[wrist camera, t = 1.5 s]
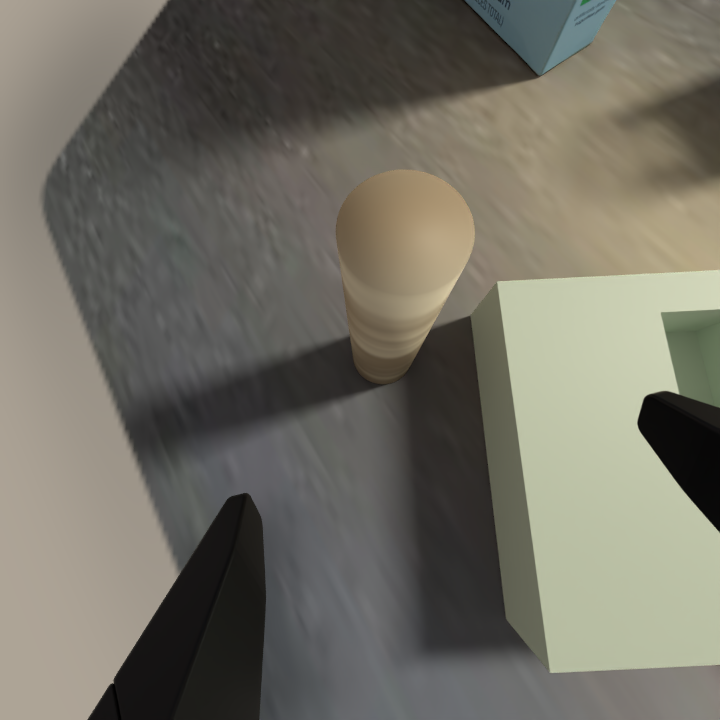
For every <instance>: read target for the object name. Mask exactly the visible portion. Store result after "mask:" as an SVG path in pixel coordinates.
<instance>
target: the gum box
mask: <svg viewBox="0 0 720 720" xmlns="http://www.w3.org/2000/svg"><path fill="white" fill-rule="evenodd" d="M464 1H465V2H466V3H468V4H469V5H470V6H471V7H472V8H473V9H474V10H475V11H476V12H477V13H478V14H479V15H480V16H481V17H482V18H483V19H484V21H485V22H486V23H487V24H488V25H489V26H490V27H491V28H492V29H493V30H494V31H495V32H496V33H497V34H498V35H499V36H500V37H501V38H502V39H503V40H504V41H505V42H506V43H507V44H508V45H509V46H511V47H512V48H513V49H514V50H515V51H516V52H517V53H518V54H519V55H520V56H521V57H522V59H523V60H524V61H525V62H526V63H527V64H528V65H529V67H530V68H531V69H532V70H533V71H534V72H535V73H536V74H537V75H538V76H541V75H542V74H544V73H545V72H547V71H548V70H550V69H551V68H553V67H555V66H556V65H558V64H560V63H561V62H563V61H565V60H566V59H568V58H570V57H571V56H573V55H574V54H576V53H577V52H579V51H581V50H582V49H584V48H585V47H587V46H588V45H590V44H591V43H592V41H593V39H594V37H595V35H596V34H597V32H598V30H599V29H600V27H601V25H602V23H603V22H604V20H605V18H606V16H607V15H608V13H609V11H610V10H611V8H612V6H613V5H614V3H615V1H616V0H464Z"/></svg>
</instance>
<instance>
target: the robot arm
mask: <svg viewBox="0 0 720 720" xmlns="http://www.w3.org/2000/svg"><path fill="white" fill-rule="evenodd" d="M637 425H638V429H639V431H640V433H641V434H642V435H643V437H644V438H645V440H646V441H647V442H648V444H649V445H650V446H651V448H652V449H653V451H654V452H655V453H656V455H657V456H658V457H659V459H660V460H661V462H662V463H663V464H664V466H665V467H666V468H667V470H668V471H669V473H670V474H671V475H672V477H673V478H674V480H675V481H676V482H677V483H678V485H679V486H680V487H681V489H682V490H683V491H684V492H685V494H686V495H687V496H688V497H689V498H690V500H691V501H692V502H693V503H694V504H695V505H696V506H697V508H698V509H699V510H700V511H701V512H702V513H703V514H704V516H705V517H706V518H707V519H708V520H709V521H710V522H711V524H712V525H713V526H714V527H715V528H716V529H717V530H718V532H719V533H720V408H719V407H716V406H713V405H710V404H707V403H704V402H701V401H698V400H695V399H691V398H688V397H685V396H682V395H679V394H676V393H673V392H670V391H659V392H655V393H651V394H648V395H646V396H645V397H644V399H643V402H642V406H641V409H640V413H639V416H638V420H637ZM265 611H266V584H265V564H264V544H263V525H262V519H261V516H260V514H259V512H258V510H257V508H256V506H255V504H254V502H253V500H252V498H251V496H250V495H249V494H248V493H243V494H239V495H235V496H231V497H229V498H228V499H227V500H226V502H225V504H224V505H223V507H222V508H221V510H220V511H219V513H218V515H217V516H216V518H215V519H214V521H213V522H212V524H211V526H210V527H209V529H208V530H207V532H206V534H205V535H204V537H203V538H202V540H201V541H200V543H199V545H198V546H197V548H196V549H195V551H194V553H193V554H192V556H191V557H190V559H189V560H188V562H187V564H186V565H185V567H184V568H183V570H182V572H181V573H180V575H179V576H178V578H177V579H176V581H175V583H174V584H173V586H172V588H171V589H170V591H169V592H168V594H167V595H166V597H165V599H164V600H163V602H162V603H161V605H160V606H159V608H158V610H157V611H156V613H155V614H154V616H153V617H152V619H151V621H150V622H149V624H148V625H147V627H146V629H145V630H144V632H143V633H142V635H141V636H140V638H139V640H138V641H137V643H136V644H135V646H134V647H133V649H132V651H131V653H130V654H129V655H128V657H127V659H126V660H125V662H124V663H123V665H122V666H121V668H120V670H119V671H118V673H117V674H116V676H115V678H114V684H113V683H112V684H110V685H109V687H108V688H107V690H106V691H105V693H104V695H103V696H102V698H101V699H100V701H99V703H98V704H97V706H96V707H95V709H94V710H93V712H92V714H91V715H90V717H89V718H88V720H259V714H260V697H261V680H262V662H263V645H264V628H265Z"/></svg>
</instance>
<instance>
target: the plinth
mask: <svg viewBox="0 0 720 720" xmlns="http://www.w3.org/2000/svg"><path fill="white" fill-rule="evenodd" d="M471 324H472V332H473V341H474V349H475V358H476V367H477V375H478V384H479V392H480V401H481V409H482V418H483V426H484V435H485V444H486V452H487V461H488V469H489V478H490V486H491V495H492V503H493V512H494V520H495V529H496V538H497V546H498V555H499V563H500V572H501V580H502V589H503V597H504V606H505V615H506V620H507V621H508V622H509V623H510V625H511V626H512V627H513V628H514V629H515V631H516V632H517V633H518V634H519V636H520V637H521V638H522V639H523V640H524V642H525V643H526V644H527V645H528V647H529V648H530V649H531V650H532V651H533V653H534V654H535V655H536V656H537V658H538V659H539V660H540V661H541V662H542V664H543V665H544V666H545V667H546V668H547V670H548V671H549V672H550V673H561V672H581V671H602V670H623V669H643V668H664V667H685V666H705V665H720V533H719V532H718V530H717V529H716V528H715V527H714V526H713V525H712V524H711V522H710V521H709V520H708V519H707V518H706V517H705V516H704V514H703V513H702V512H701V511H700V510H699V509H698V508H697V506H696V505H695V504H694V503H693V502H692V501H691V500H690V498H689V497H688V496H687V495H686V494H685V492H684V491H683V490H682V489H681V487H680V486H679V485H678V483H677V482H676V481H675V480H674V478H673V477H672V475H671V474H670V473H669V471H668V470H667V468H666V467H665V466H664V464H663V463H662V462H661V460H660V459H659V457H658V456H657V455H656V453H655V452H654V451H653V449H652V448H651V446H650V445H649V444H648V442H647V441H646V440H645V438H644V437H643V435H642V434H641V433H640V431H639V429H638V425H637V420H638V416H639V413H640V409H641V406H642V402H643V399H644V397H645V396H646V395H648V394H651V393H655V392H659V391H670V392H673V393H676V394H679V395H682V396H685V397H688V398H691V399H695V400H698V401H701V402H704V403H707V404H710V405H713V406H716V407H719V408H720V270H712V271H693V272H673V273H654V274H634V275H615V276H595V277H576V278H556V279H537V280H517V281H498V282H496V284H495V285H494V286H493V287H492V289H491V290H490V291H489V293H488V294H487V295H486V296H485V298H484V299H483V300H482V301H481V303H480V304H479V305H478V306H477V308H476V309H475V310H474V312H473V313H472V314H471Z"/></svg>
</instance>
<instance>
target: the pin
mask: <svg viewBox="0 0 720 720" xmlns="http://www.w3.org/2000/svg"><path fill="white" fill-rule="evenodd" d="M474 237H475V230H474V222H473V218H472V215H471V212H470V210H469V208H468V206H467V204H466V202H465V201H464V199H463V198H462V196H461V195H460V194H459V193H458V192H457V191H456V190H455V189H454V188H453V187H452V186H450V185H449V184H448V183H446V182H445V181H443V180H442V179H440V178H438V177H436V176H433V175H431V174H428V173H425V172H420V171H415V170H393V171H388V172H384V173H381V174H378V175H375V176H373V177H371V178H369V179H367V180H365V181H364V182H362V183H361V184H360V185H358V186H357V187H356V188H355V189H354V190H353V191H352V192H351V193H350V194H349V195H348V197H347V198H346V200H345V201H344V203H343V205H342V207H341V209H340V211H339V214H338V218H337V223H336V239H337V247H338V254H339V261H340V268H341V276H342V283H343V290H344V297H345V304H346V311H347V318H348V326H349V333H350V340H351V347H352V354H353V361H354V365H355V367H356V369H357V371H358V372H359V373H360V375H361V376H362V377H364V378H365V379H366V380H368V381H370V382H372V383H376V384H389V383H393V382H395V381H397V380H399V379H400V378H402V377H403V376H404V375H405V374H406V372H407V371H408V369H409V367H410V366H411V364H412V362H413V360H414V358H415V356H416V355H417V353H418V351H419V349H420V347H421V345H422V344H423V342H424V340H425V338H426V336H427V334H428V333H429V331H430V329H431V327H432V325H433V323H434V322H435V320H436V318H437V316H438V314H439V312H440V311H441V309H442V307H443V305H444V303H445V301H446V300H447V298H448V296H449V294H450V292H451V290H452V289H453V287H454V285H455V283H456V281H457V279H458V278H459V276H460V274H461V272H462V270H463V268H464V267H465V265H466V263H467V261H468V259H469V257H470V255H471V252H472V249H473V245H474Z"/></svg>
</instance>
